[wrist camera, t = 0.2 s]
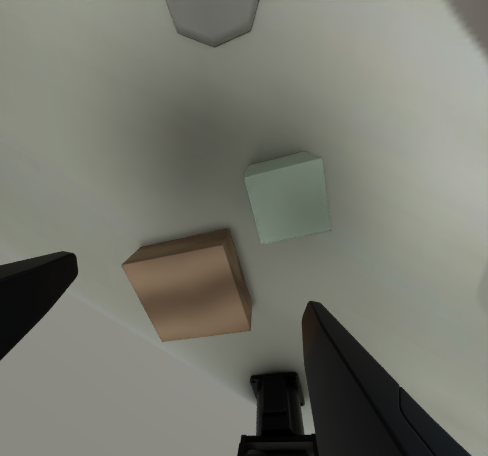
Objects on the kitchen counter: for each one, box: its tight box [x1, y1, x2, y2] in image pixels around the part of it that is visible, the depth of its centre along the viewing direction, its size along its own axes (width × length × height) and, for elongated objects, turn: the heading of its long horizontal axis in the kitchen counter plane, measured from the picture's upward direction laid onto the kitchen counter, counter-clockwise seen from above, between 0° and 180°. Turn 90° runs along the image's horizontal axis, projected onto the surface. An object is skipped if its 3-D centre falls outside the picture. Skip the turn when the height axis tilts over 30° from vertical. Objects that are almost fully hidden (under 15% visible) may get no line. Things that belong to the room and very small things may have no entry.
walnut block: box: [121, 229, 252, 342], centre depth 24 cm, size 10×10×4 cm
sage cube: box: [244, 151, 331, 244], centre depth 18 cm, size 5×5×6 cm
